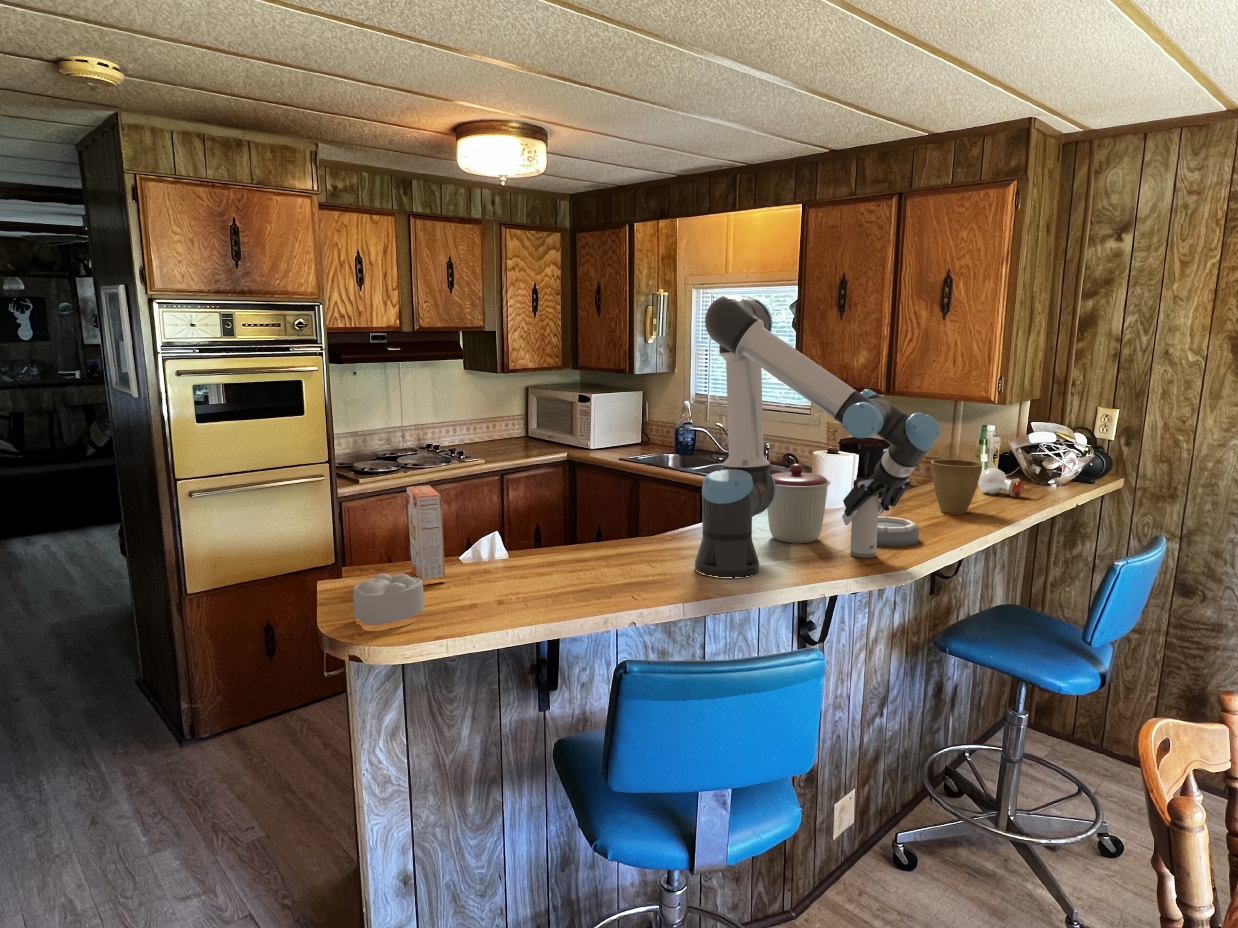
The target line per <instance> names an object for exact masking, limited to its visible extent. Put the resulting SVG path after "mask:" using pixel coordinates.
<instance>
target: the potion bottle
mask: <svg viewBox="0 0 1238 928" xmlns="http://www.w3.org/2000/svg"><path fill="white" fill-rule="evenodd" d="M977 486H978V487H979V489H980V491H982V492H984V493H985V492H986V494H987V493H994V494H993V495H995V493H998V494H999V493H1002V491H1004V492H1006V493H1009V495H1010V496H1011V497H1012V496H1013V497H1015V496H1016V497H1017V498H1018V497H1019V498H1020V496H1022V494H1023V493H1024V491H1025V480H1024V481H1021V480H1020V478H1019V477H1018V478H1014V479H1009V478H1007V476H1006V473H1005V472H1004V471H1002V470H1001V469H999V468H998V467H988V468H986V469H984V470H983V471H981V474H980V478H979V482H978V485H977Z"/></svg>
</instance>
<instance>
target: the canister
mask: <svg viewBox="0 0 1238 928" xmlns="http://www.w3.org/2000/svg"><path fill="white" fill-rule="evenodd" d="M771 476H772V477H773V479H774V481H775V485H776V493H775V497H774V499H773V501H772V503H771V504H770V505H769V507H768V508H767V509H766V510H767V511H766V512H767V518H768V526H769V531H770V534H771V536H772V537H773V539H775V540H777V541H780V542H783V543H790V544H806V543H807V544H808V543H812V542H815V541H817V540H818V539H819V537H820V536H821V533H822V529H823V524H824V523H823V522H824V518H825V517H824V516H825V510H826V502H827V501H826V500H827V495H828V487H829V486H830V484H831V480H829V479H827V478H826V477H825V476H823V475H821V474H818V473H811V472H804V466H803V465H802V464H800V463H794V464H792V465H790V467H789V471H787V472H786V471H785V472H776V473H772V474H771Z"/></svg>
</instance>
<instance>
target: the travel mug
mask: <svg viewBox="0 0 1238 928" xmlns="http://www.w3.org/2000/svg"><path fill="white" fill-rule="evenodd" d="M860 478H861V479H862V480H863V481H865V480H868V479H869V478H870V477H860ZM858 479H859V478H857V479H854V480H853V483H852V485H853V487H854V486H855V485H856V482H857V480H858ZM879 496H880V494H879V493H878V494H877V495H876V496H872V497H871V498H869V499H868V500H867V501H866V502H865V503H863V504H862V505H861V506H860V507H859V508H857V509H858V512H857V513H856V515H855V516H854V517H853V519H852V520H851V527H850V528H851V530H850V531H851V532H850V534H851V535H850V556H852V557H855V558H861V559H873V558H875V557H876V556H877V525H878V517H879V516H878V503H879V501H880V500H879V499H880V497H879Z"/></svg>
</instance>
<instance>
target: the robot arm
mask: <svg viewBox="0 0 1238 928" xmlns="http://www.w3.org/2000/svg"><path fill="white" fill-rule="evenodd" d="M772 317H773V316H772V314H771V311H770V309H769V308H768V307H767V306H766V305H765V303H763V302H761V301H760V300H758V299H756V298H754V297H750V296H740V295H733V294H732V295H731V294H729V295H724V296H720V297H718V298H716V299H715V300H714V301H712V303H711V304H710V306H709V307H708V309H707V310H706V313H705V318H704V322H705V324H704V325H705V329H706V332H707V334H708V336H709V337H710V338H711V339H712V340H713V342H715V343H717V344H718V345H719V346H718V349H719V355H720V356H721V357H722V358H723V359H724V361H725V368H726V371H725V373H726V374H725V375H726V376H725V377H726V401H727V402H726V403H727V404H726V405H727V435H728V437H727V441H728V457H727V458H726V460H724V461H723V463H722V469H721V470H715V471H712V472H710V473H708V474H706V475H705V476H704V479H702V489H701V496H702V498H701V504H702V506H701V507H702V517H701V520H702V523H701V525H702V538H701V542H700V543H699V544H700V545H699V547H698V551H697V554H696V557H695V559H694V560H695V561H694V570H695V569H696V570H697V571H699V572H701V573H704V574H706V575H712V576H718V577H732V578H735V577H745V578H747V577H746V576H750V577H752V576H751V575H753V576H755V575H757V574H758V573H759V572H760V569H759V568H760V561H759V557H758V554H757V552H756V549H755V546H754V542H753V517H755V516H756V515H760V514H761V513H763V512H765V511H766V510H767V508H768V507H769V505H770V504H771V503H772V501H773V499H774V497H775V493H776V485H775V481H774V479H773V477H772V476H771V475H772V474H771V461H770V460H768V459H767V458H766V457H765V455H764V427H763V425H764V418H763V382H762V381H763V378H762V377H763V376H762V373H763V372H762V369H763V370H764V371H765V372H767V373H768V374H770V375H771V376H773V377H774V378H776V379H777V380H779V382H781V383H782V384H784V385H785V386H787V387H789V388H790V389H791V390H793V391H794V392H796V394H799V395H800V396H801V397H803V398H804V399H806V400H807V401H808V402H810V403H811V404H813V405H814V406H815V407H817V408H819V409H820V410H821V411H823V412H825V413H826V414H827V415H828V416H830V417H831V418H833V419H834V420H836V422H838V423H839V424H840V425H842V426H843V427H844V430H845V431H846V433H847V434H848V435H850V436H852V437H853V438H857V439H867V438H872V437H874V436H876V435H877V436H878V437H879V438H881V439H883V441H885V442H887V443H888V444H890V445H889V446H888V448H887V449H886V451H885V452H884V453H883V455H882V457H881V458H880V460H878V462H877V464H876V465H875V467H874V471H873V475H871V476H870V477H868V478H869V479H868V480H865V481H863V480H862V479H861V478H862V477H860V478H857V479H858V480H857V482H856V485H855V486H853V487H852V488H851V490H850V491H849V492H848V494H847V495H846V496H845V497H844V499H843V500H842V502H843V505H844V507H845V509H844V513H843V514H842V515H841V518H842V520H843V522H844V526H849V525H850V524H851V523H852V519H853V517H854V516H855V515H856V513H857V512H858V509H857V508H859V507H860V506H861V505H862V504H863V503H865V502H866V501H867V500H868V499H869V498H871V497H872V496H876V495H877V494H879V493H881V495H880V500H879V503H878V517H880V515H881V514H882V513H884V511H885V512H888V511H890V507H896V506H897V504H898V503H899V501H900V499H901V498H902V497H903V495H904V494H905V492H906V490H908V489H909V487H911V486H912V483H911V481H910V479H909V478H910V476H911V474H913V472H914V471H915V469H916V468H917V466H918V465H919V464H920V463H921V462H922V460H923V459H924V458H925V457H926V455H928V453H929V452H930V451H931V449H932V448H933V446H934V445H935V443H936V441H937V440H938V438H939V437H940V434H941V427H940V424H939V422H938V421H937V419H935V417H933V416H931V415H930V414H924V413H923V412H915V413H912V414H911V415H910V414H907V413H906V412H905V411H902V410H901V409H900V408H898V407H897V406H896V405H894V404H892V403H891V402H890V401H888V400H887V399H885V398H884V397H882V396H881V394H879V393H876V392H875V391H873V390H871V389H869V388H867V389H866V388H865V389H864V390H862V391H861V392H858V391H857V390H856V389H854V388H853V387H851V386H850V385H848V383H846V382H844V381H843V380H841V379H839V377H837V376H836V375H834V374H832V373H831V372H830V371H828V370H827V369H825V368H824V367H822V366H821V365H819V364H818V363H816V362H815V361H813V360H812V359H811V358H810V357H808V356H806V355H804V354H803V353H801V352H800V351H799V350H797V349H796V348H794V347H793V346H791V344H788V343H787V342H786V341H784V340H783V339H781V338H780V337H778V336H777V335H776V334H774V333H772V328H773V318H772ZM889 506H890V507H889ZM696 570H695V571H696Z"/></svg>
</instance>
